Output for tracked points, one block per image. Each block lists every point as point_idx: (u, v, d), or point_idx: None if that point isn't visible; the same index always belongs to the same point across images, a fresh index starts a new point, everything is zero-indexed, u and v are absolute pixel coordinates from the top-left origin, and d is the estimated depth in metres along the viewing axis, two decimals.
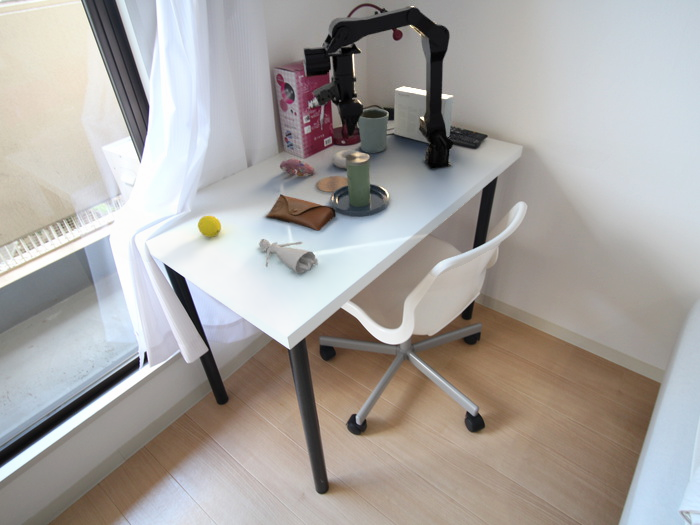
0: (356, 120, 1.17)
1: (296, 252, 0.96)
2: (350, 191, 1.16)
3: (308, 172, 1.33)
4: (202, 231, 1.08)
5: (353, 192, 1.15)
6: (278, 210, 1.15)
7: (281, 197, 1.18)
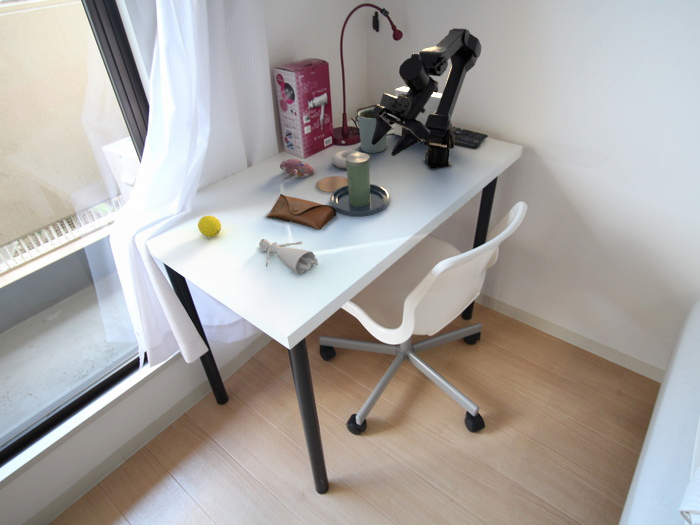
0: (409, 145, 1.11)
1: (296, 252, 0.96)
2: (350, 191, 1.16)
3: (308, 172, 1.33)
4: (202, 231, 1.08)
5: (353, 192, 1.15)
6: (278, 210, 1.15)
7: (281, 197, 1.18)
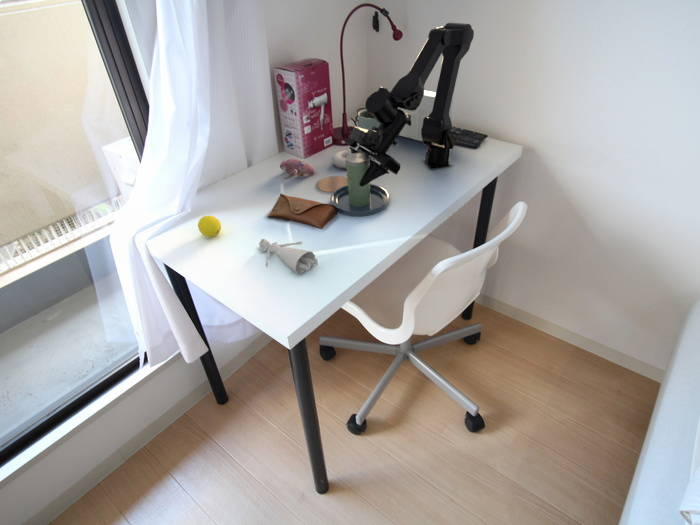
0: (377, 175, 1.12)
1: (296, 252, 0.96)
2: (350, 191, 1.16)
3: (308, 172, 1.33)
4: (202, 231, 1.08)
5: (353, 192, 1.15)
6: (279, 209, 1.15)
7: (282, 197, 1.18)
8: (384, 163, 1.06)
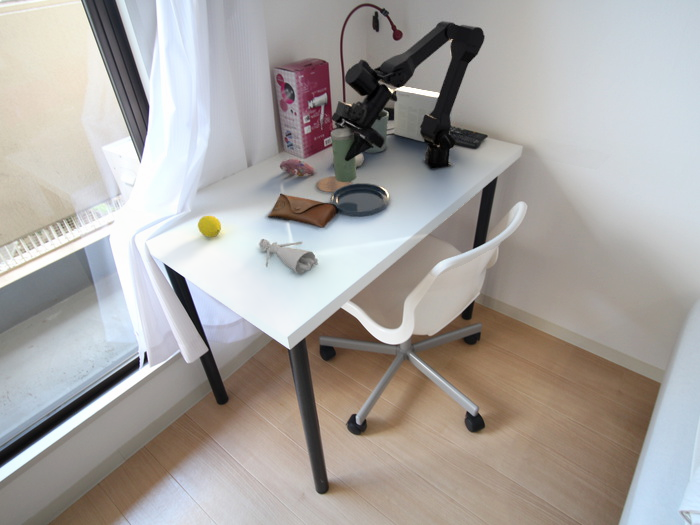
0: (362, 150, 1.14)
1: (296, 252, 0.96)
2: (336, 166, 1.17)
3: (308, 172, 1.33)
4: (202, 231, 1.08)
5: (338, 167, 1.17)
6: (280, 209, 1.15)
7: (282, 196, 1.18)
8: (368, 136, 1.07)
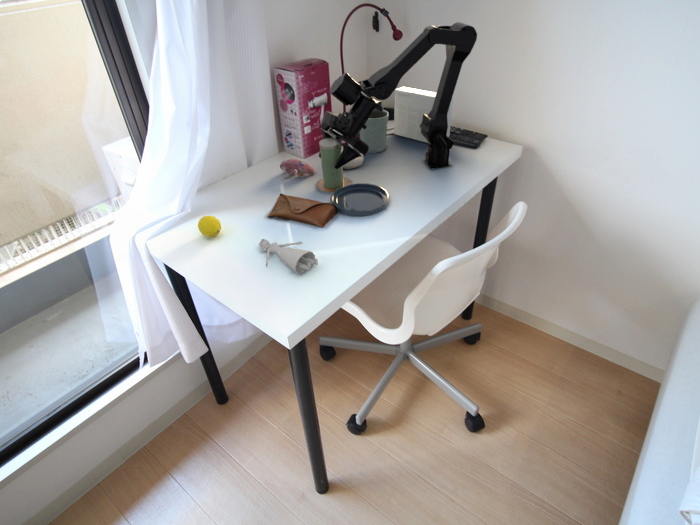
0: (351, 159, 1.20)
1: (296, 252, 0.96)
2: (324, 174, 1.25)
3: (308, 172, 1.33)
4: (202, 231, 1.08)
5: (326, 174, 1.24)
6: (279, 209, 1.15)
7: (281, 196, 1.18)
8: (353, 144, 1.14)
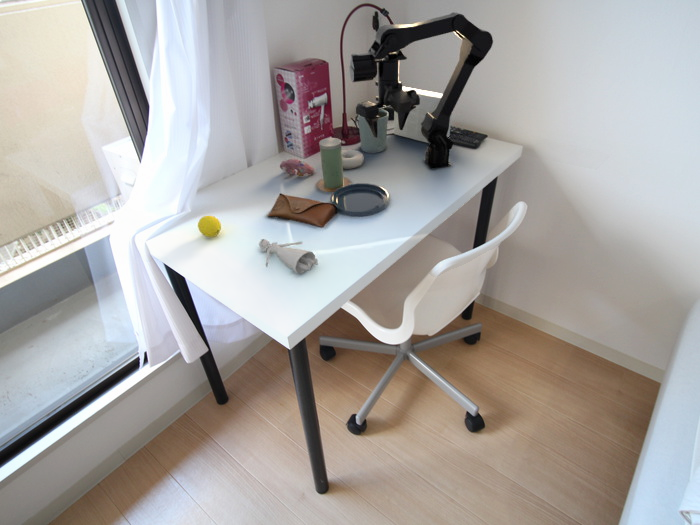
0: None
1: (296, 252, 0.96)
2: (324, 174, 1.25)
3: (308, 172, 1.33)
4: (202, 231, 1.08)
5: (326, 174, 1.24)
6: (279, 209, 1.15)
7: (281, 196, 1.18)
8: (419, 102, 1.24)
